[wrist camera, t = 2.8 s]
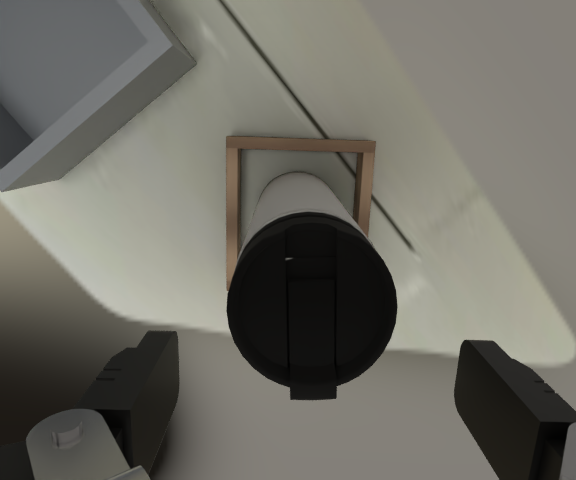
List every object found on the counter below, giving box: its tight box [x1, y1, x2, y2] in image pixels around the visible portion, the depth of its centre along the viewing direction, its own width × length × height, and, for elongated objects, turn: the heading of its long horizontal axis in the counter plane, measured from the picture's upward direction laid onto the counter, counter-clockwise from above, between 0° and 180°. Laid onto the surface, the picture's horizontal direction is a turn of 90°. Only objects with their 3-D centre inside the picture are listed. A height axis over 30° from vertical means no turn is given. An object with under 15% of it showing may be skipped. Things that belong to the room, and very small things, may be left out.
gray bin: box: [0, 0, 197, 192], centre depth 27 cm, size 14×14×7 cm
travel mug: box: [227, 172, 397, 400], centre depth 24 cm, size 6×7×20 cm
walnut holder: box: [226, 136, 376, 291], centre depth 33 cm, size 12×11×2 cm
